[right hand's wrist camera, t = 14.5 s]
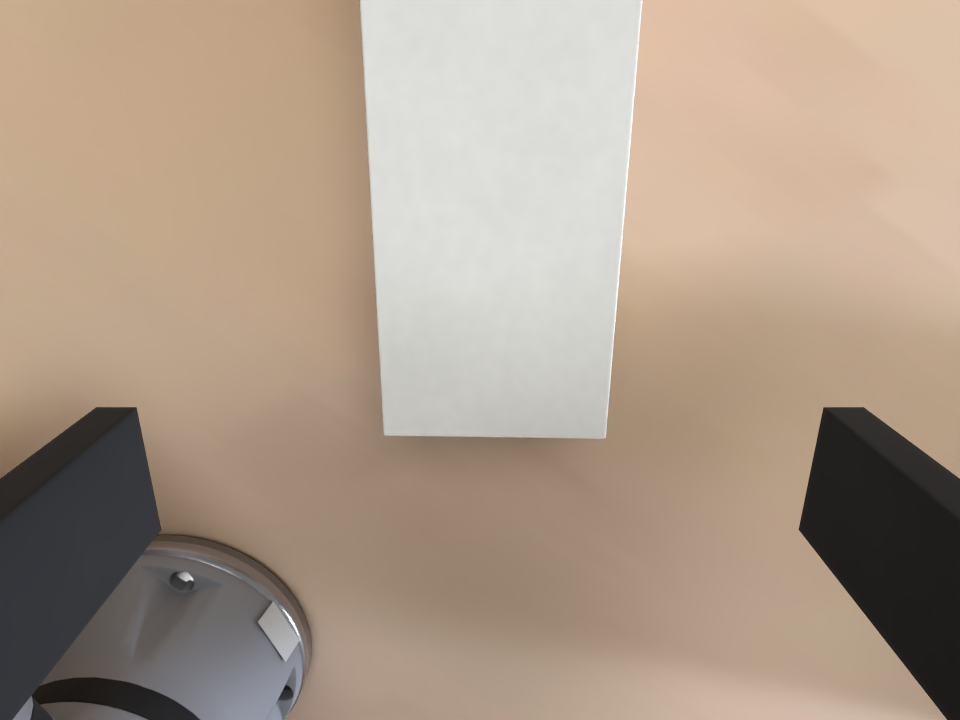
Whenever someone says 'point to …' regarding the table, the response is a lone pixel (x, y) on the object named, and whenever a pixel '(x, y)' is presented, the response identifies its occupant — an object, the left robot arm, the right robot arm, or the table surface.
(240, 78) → the table surface
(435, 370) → the wide beam
